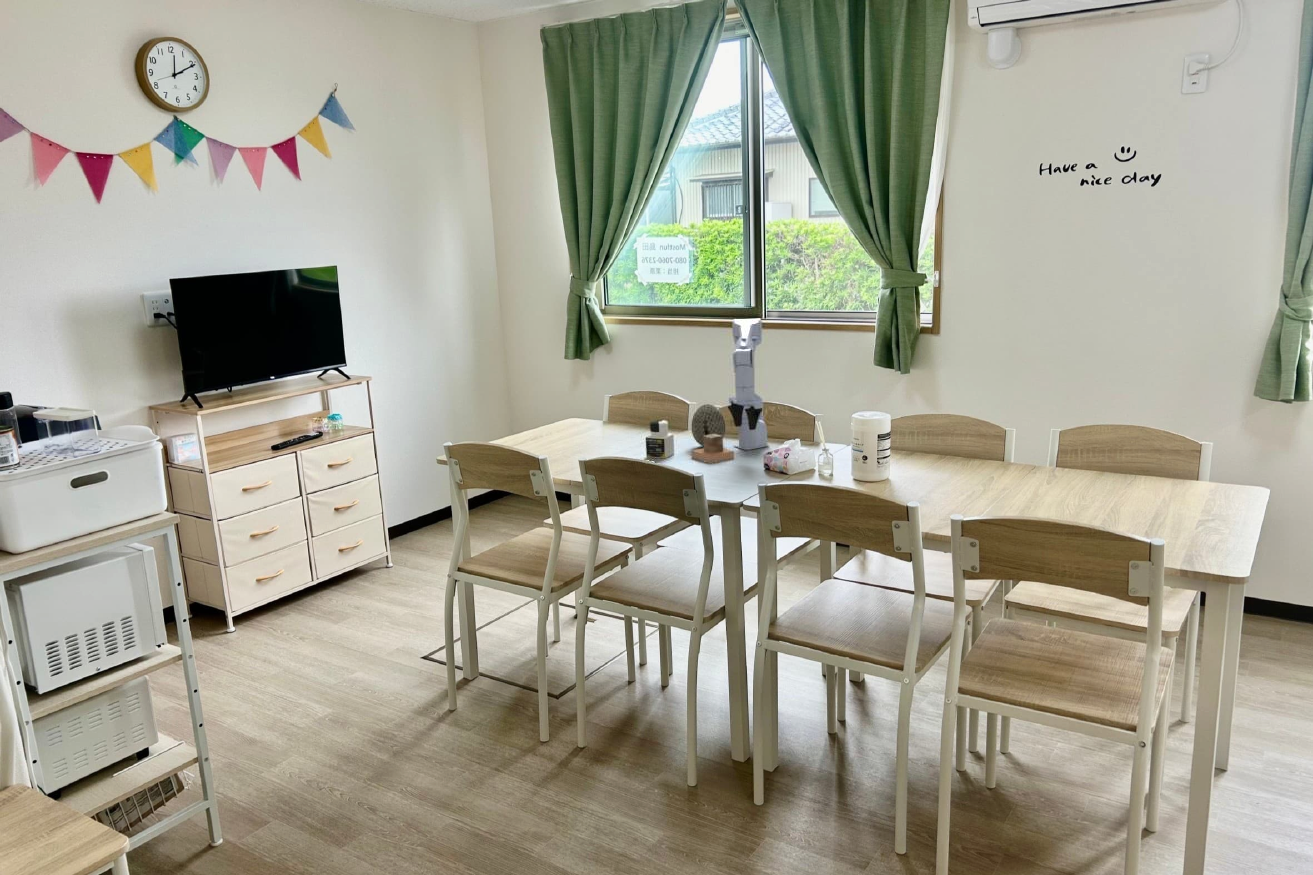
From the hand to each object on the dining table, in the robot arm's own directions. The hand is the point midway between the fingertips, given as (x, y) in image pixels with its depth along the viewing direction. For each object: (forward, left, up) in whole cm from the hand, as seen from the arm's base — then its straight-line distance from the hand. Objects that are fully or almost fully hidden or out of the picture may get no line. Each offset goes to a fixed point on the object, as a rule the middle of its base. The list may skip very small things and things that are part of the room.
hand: (745, 427), depth 310 cm
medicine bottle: (+18, -24, -11) cm, 32 cm away
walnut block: (+7, -9, -8) cm, 14 cm away
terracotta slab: (+7, -9, -11) cm, 16 cm away
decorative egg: (-2, -24, -11) cm, 26 cm away
